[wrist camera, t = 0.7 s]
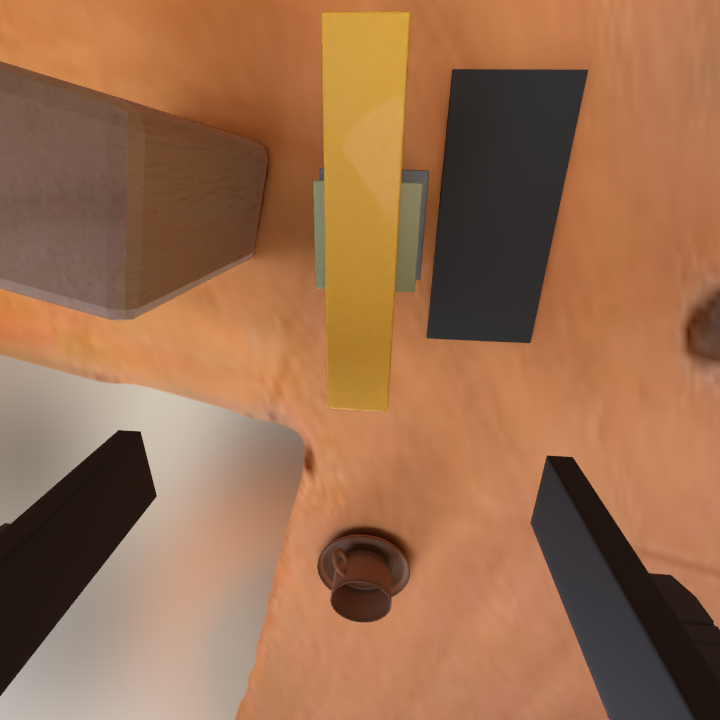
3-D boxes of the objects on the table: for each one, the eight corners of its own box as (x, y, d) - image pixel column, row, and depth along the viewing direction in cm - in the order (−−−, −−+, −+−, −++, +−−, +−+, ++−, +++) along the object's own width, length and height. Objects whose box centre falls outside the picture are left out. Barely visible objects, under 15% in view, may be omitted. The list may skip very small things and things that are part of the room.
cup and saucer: (303, 560, 54) (292, 604, 48) (354, 510, 50) (349, 552, 44) (372, 600, 56) (370, 647, 51) (427, 555, 52) (432, 601, 46)
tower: (333, 171, 34) (297, 163, 21) (422, 173, 34) (440, 166, 21) (334, 260, 37) (303, 300, 24) (415, 263, 37) (426, 305, 24)
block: (158, 111, 33) (-127, 22, 15) (273, 146, 34) (132, 101, 15) (152, 230, 37) (-78, 275, 19) (255, 261, 38) (126, 332, 19)
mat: (452, 70, 30) (453, 69, 30) (585, 71, 30) (588, 69, 30) (426, 337, 39) (427, 338, 39) (529, 341, 39) (530, 343, 38)
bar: (334, 44, 19) (321, 10, 15) (407, 44, 19) (411, 10, 15) (336, 377, 26) (327, 408, 23) (388, 380, 26) (388, 412, 23)
